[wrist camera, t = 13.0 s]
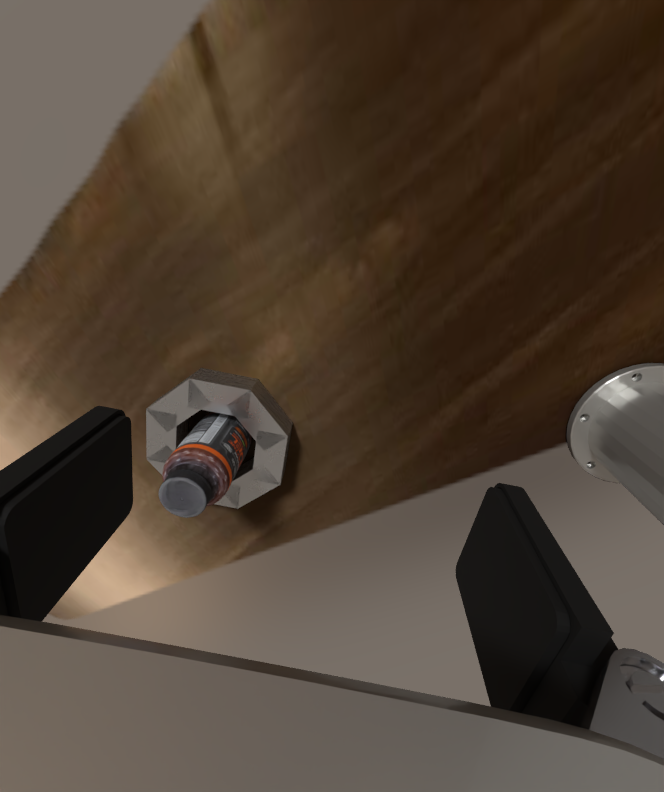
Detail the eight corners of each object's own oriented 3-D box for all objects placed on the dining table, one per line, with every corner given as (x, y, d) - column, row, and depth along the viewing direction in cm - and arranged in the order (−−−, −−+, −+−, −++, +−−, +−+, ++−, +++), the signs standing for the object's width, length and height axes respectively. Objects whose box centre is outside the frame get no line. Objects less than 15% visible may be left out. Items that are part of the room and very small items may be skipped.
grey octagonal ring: (298, 386, 40) (292, 401, 36) (280, 498, 45) (274, 520, 42) (160, 359, 40) (141, 372, 36) (159, 475, 45) (143, 495, 42)
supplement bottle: (260, 451, 43) (229, 522, 33) (210, 461, 44) (164, 534, 34) (242, 402, 41) (201, 462, 31) (189, 414, 42) (133, 476, 32)
